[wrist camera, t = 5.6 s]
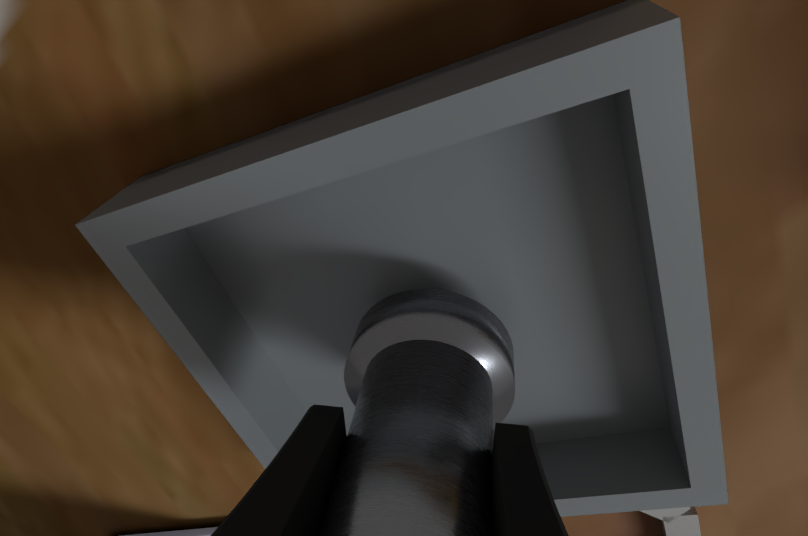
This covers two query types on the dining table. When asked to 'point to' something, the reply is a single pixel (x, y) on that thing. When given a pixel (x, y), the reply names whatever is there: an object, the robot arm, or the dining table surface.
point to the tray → (461, 252)
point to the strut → (422, 418)
